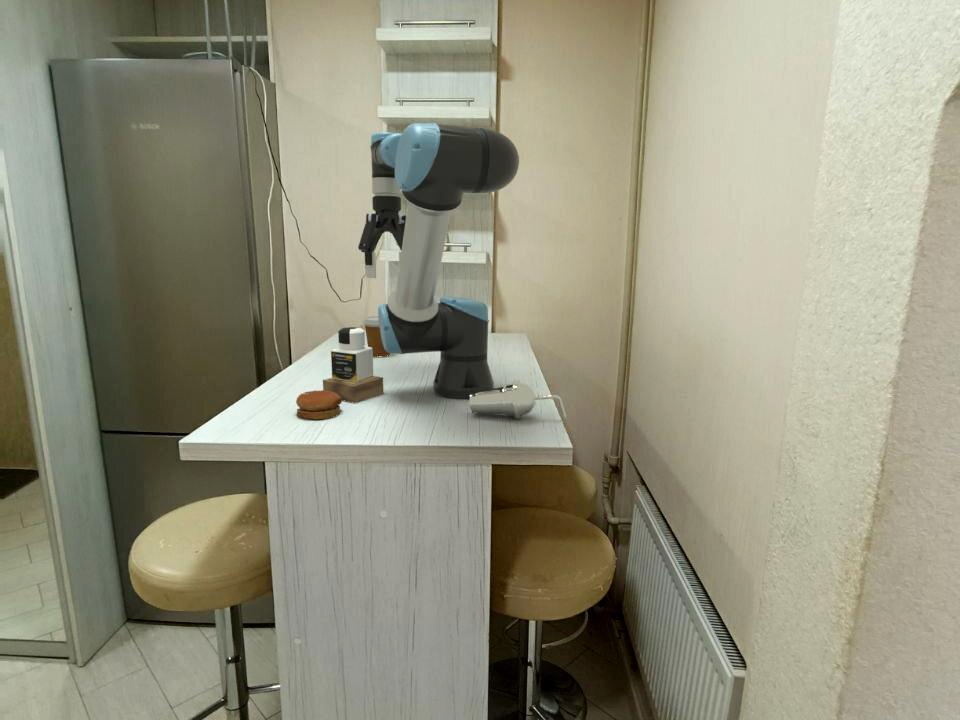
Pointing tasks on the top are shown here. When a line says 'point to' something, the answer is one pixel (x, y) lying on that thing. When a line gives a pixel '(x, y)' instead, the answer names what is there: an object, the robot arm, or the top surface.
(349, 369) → the medicine bottle
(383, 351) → the disposable coffee cup
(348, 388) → the plinth
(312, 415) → the burger
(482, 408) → the cup with straw
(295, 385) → the top surface
